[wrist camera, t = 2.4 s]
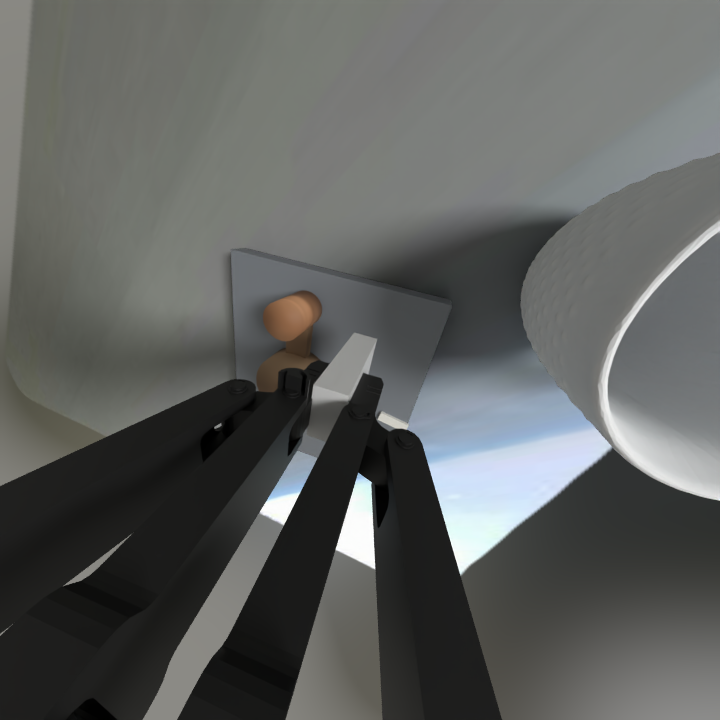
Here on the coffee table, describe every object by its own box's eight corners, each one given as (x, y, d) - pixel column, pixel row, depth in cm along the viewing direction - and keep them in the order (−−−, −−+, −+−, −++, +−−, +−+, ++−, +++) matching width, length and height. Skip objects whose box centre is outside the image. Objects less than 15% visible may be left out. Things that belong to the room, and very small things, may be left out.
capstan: (270, 281, 21) (238, 290, 17) (345, 301, 20) (328, 314, 16) (266, 434, 29) (244, 462, 25) (319, 452, 28) (304, 483, 24)
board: (246, 248, 22) (228, 249, 20) (451, 300, 20) (454, 307, 18) (248, 419, 32) (236, 431, 30) (389, 467, 30) (386, 483, 28)
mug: (773, 308, 16) (1650, 491, 5) (593, 407, 21) (788, 607, 10) (615, 138, 14) (1334, -237, 3) (463, 289, 20) (512, 363, 8)
